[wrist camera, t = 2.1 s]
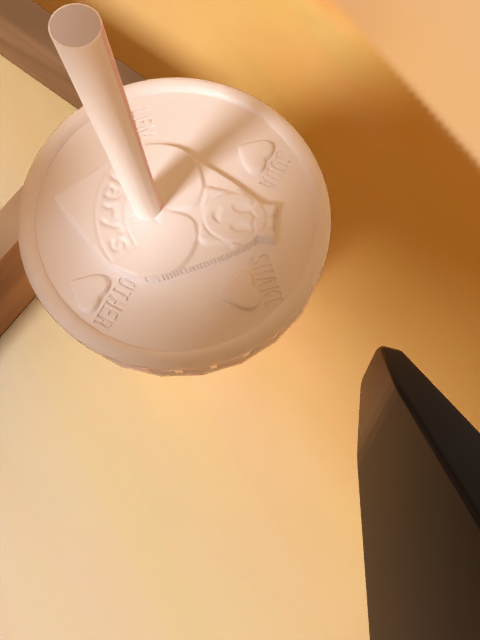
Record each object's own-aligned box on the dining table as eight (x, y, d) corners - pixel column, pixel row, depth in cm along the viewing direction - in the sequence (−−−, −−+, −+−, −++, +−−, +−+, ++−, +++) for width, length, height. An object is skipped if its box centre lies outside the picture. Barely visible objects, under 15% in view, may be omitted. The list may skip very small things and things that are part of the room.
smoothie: (135, 231, 19) (-106, -235, 5) (285, 247, 19) (441, -170, 5) (112, 382, 18) (-287, 301, 4) (272, 398, 18) (433, 375, 4)
